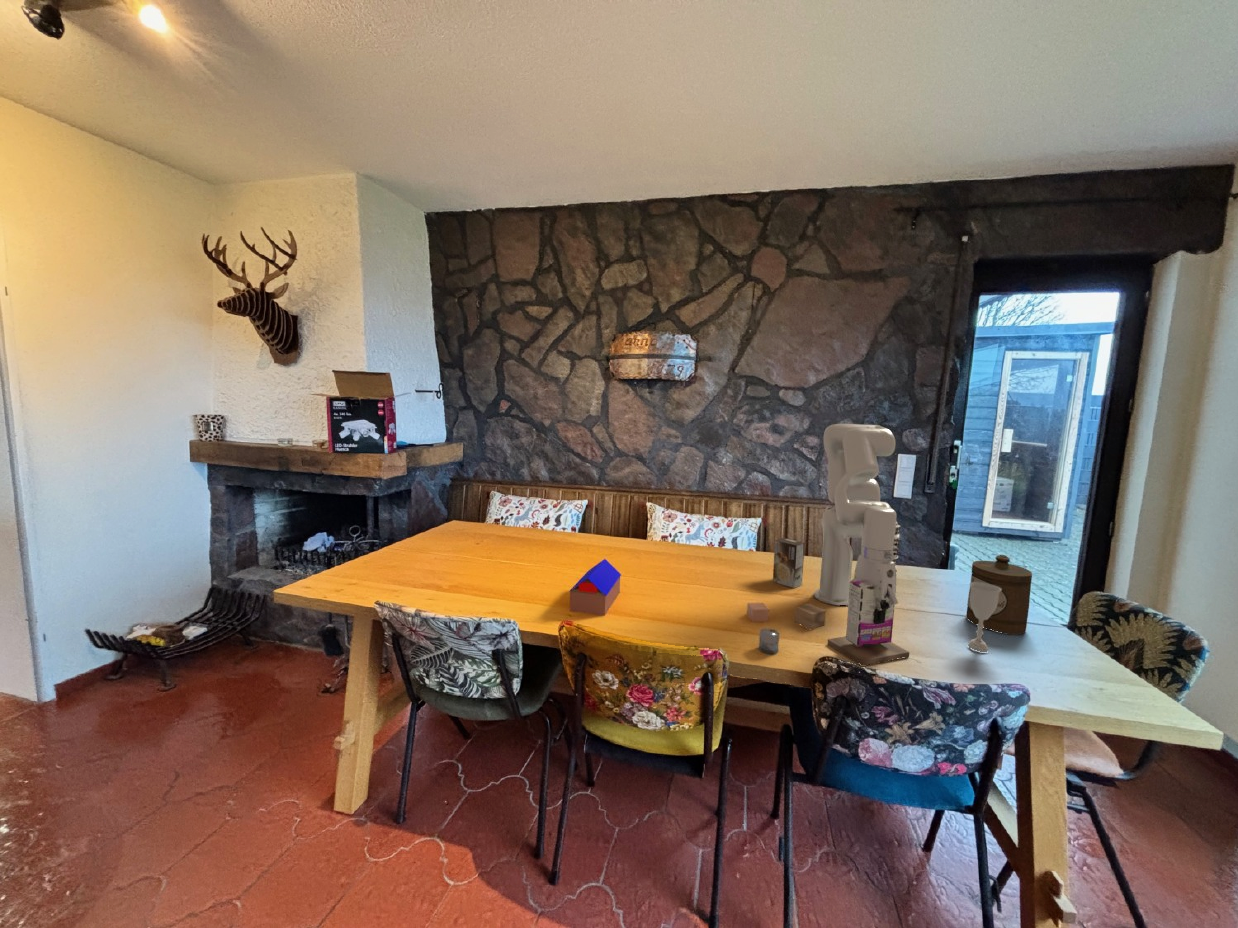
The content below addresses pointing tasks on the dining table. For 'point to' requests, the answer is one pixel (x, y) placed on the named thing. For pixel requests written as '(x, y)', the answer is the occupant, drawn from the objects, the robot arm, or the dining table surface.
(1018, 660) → the dining table surface
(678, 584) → the dining table surface
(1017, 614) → the wooden container
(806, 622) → the dark oak block
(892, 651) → the walnut board
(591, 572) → the house
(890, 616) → the candy bar box
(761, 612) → the terracotta block
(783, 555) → the coffee box
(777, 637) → the grey metal cylinder
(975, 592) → the chalice
